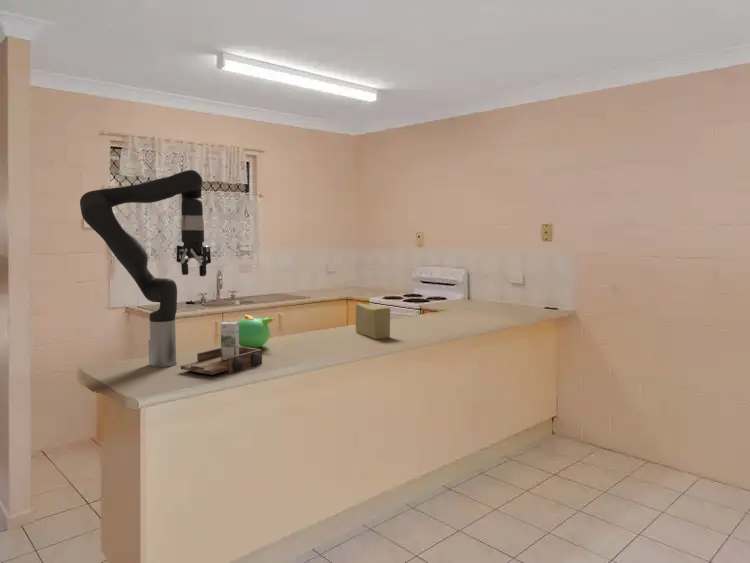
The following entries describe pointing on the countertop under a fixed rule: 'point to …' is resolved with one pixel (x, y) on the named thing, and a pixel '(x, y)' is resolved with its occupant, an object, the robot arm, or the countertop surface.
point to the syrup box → (229, 339)
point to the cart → (232, 358)
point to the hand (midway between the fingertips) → (193, 275)
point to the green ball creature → (254, 331)
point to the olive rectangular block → (373, 321)
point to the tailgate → (204, 368)
